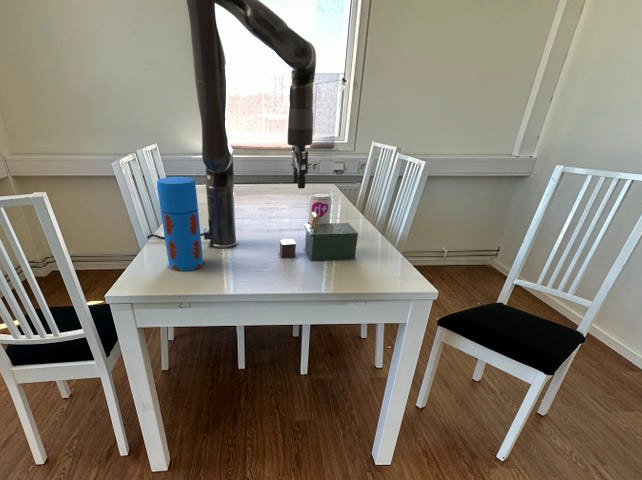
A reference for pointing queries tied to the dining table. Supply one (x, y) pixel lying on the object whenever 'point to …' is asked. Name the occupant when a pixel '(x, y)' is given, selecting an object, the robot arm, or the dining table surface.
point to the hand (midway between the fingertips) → (299, 185)
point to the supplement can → (320, 207)
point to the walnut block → (287, 248)
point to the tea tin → (331, 247)
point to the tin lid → (328, 228)
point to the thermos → (180, 222)
